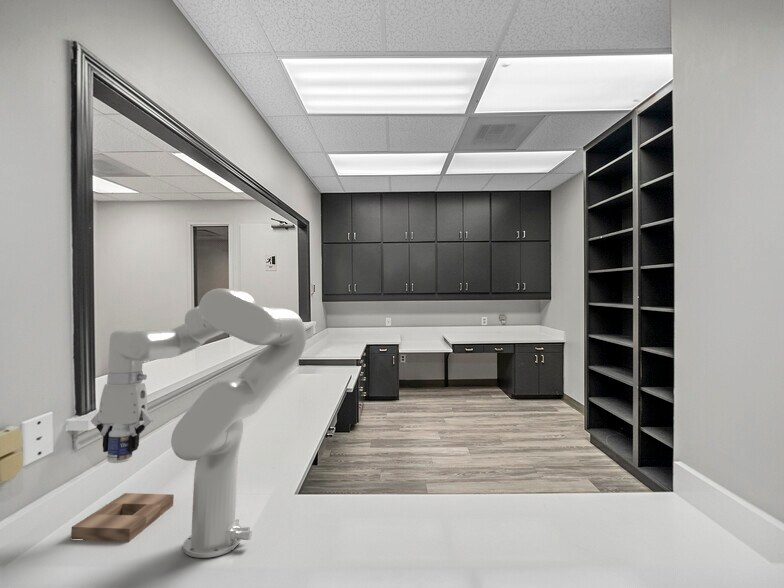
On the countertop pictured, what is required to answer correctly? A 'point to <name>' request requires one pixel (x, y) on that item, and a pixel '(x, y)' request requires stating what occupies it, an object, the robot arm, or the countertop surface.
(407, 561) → the countertop surface
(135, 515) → the socket block
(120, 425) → the pill bottle
